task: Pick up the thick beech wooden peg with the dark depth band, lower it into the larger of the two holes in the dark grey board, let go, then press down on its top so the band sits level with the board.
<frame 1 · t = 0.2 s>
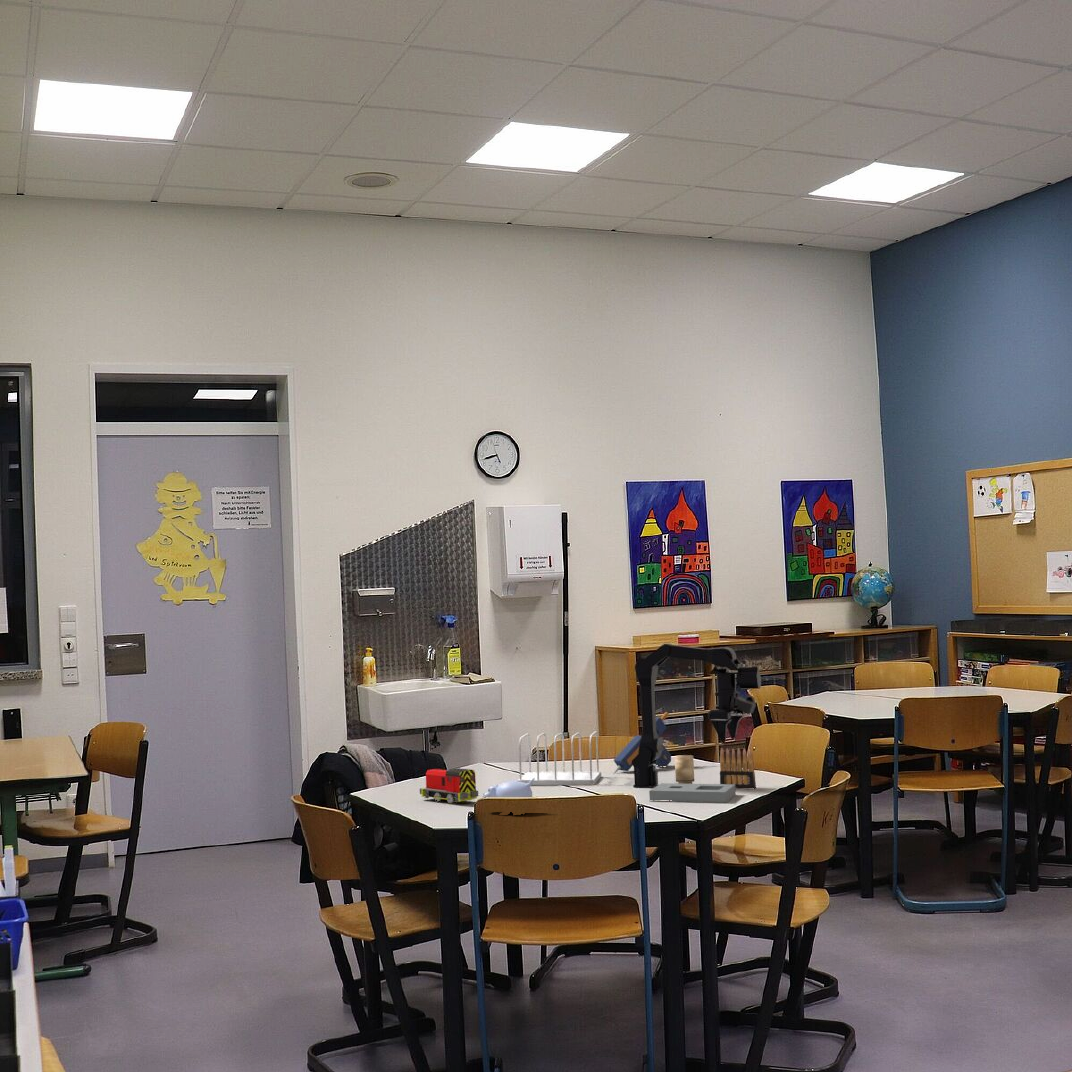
hand: (728, 740, 356), 14 cm above the table, tool pointing down, fingers open, 9 cm apart
ammunition clip: (738, 788, 354), on the table
file sorter: (560, 782, 383), on the table
glue gun: (642, 770, 401), on the table
hippopotamus toy: (509, 813, 327), on the table
two-hole board: (693, 797, 339), on the table
beech peg: (685, 789, 355), on the table
toy train: (448, 802, 351), on the table
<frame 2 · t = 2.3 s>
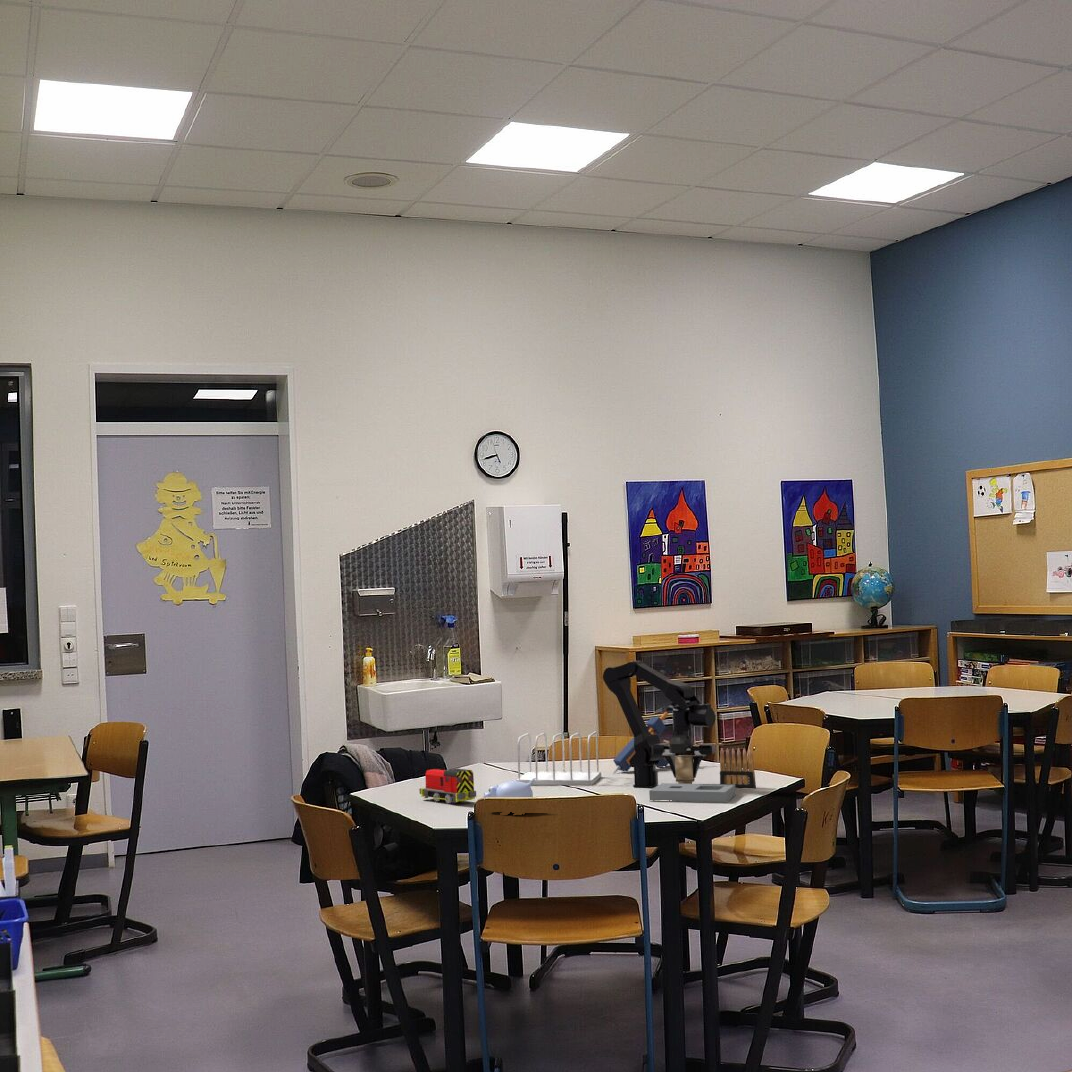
hand: (684, 777, 355), 4 cm above the table, tool pointing down, fingers closed on beech peg, 6 cm apart
beech peg: (685, 789, 355), on the table, touching gripper
everything else where it was.
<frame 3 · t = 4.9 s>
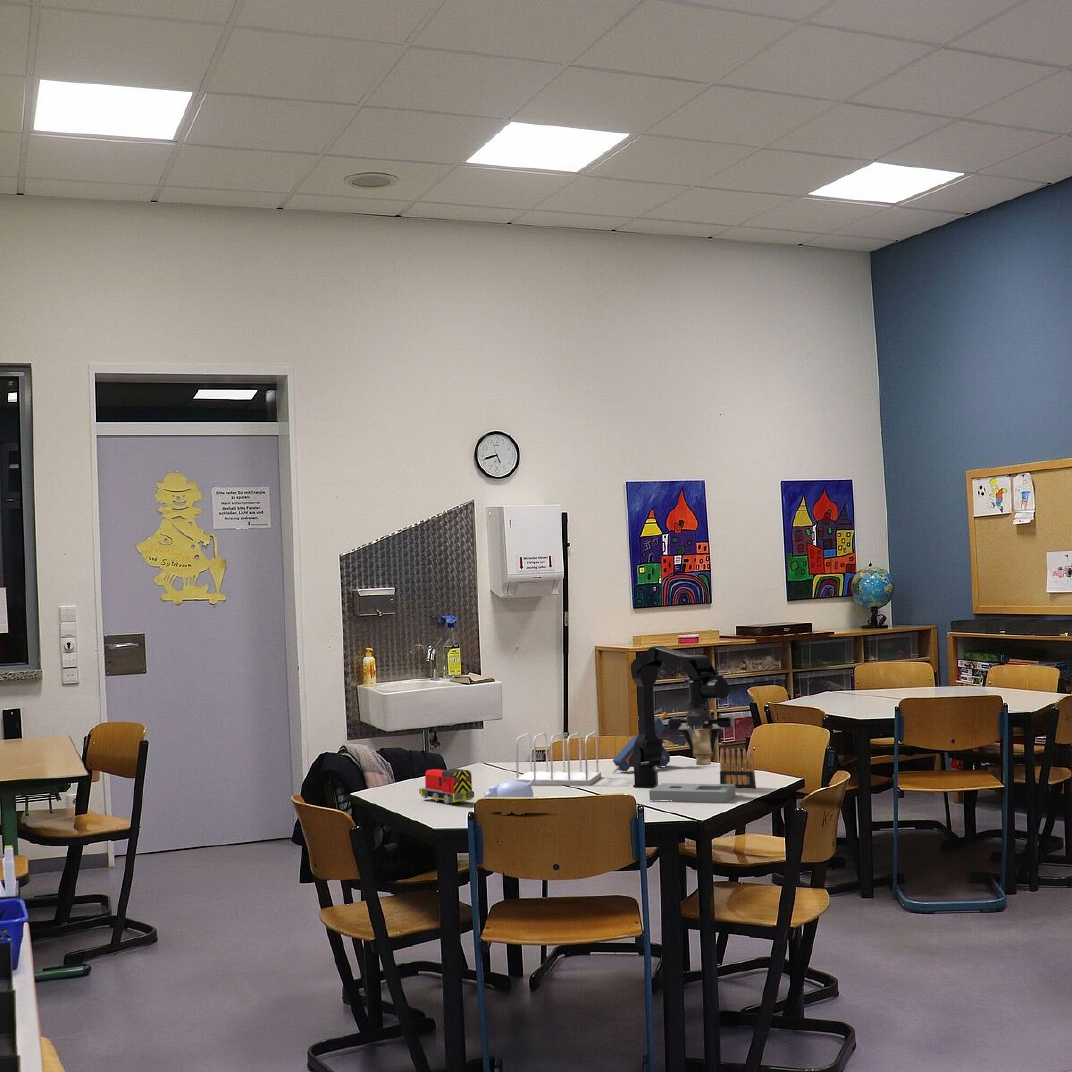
hand: (702, 752, 342), 13 cm above the table, tool pointing down, fingers closed on beech peg, 6 cm apart
beech peg: (703, 764, 342), point 9 cm above the table, touching gripper
everything else where it was.
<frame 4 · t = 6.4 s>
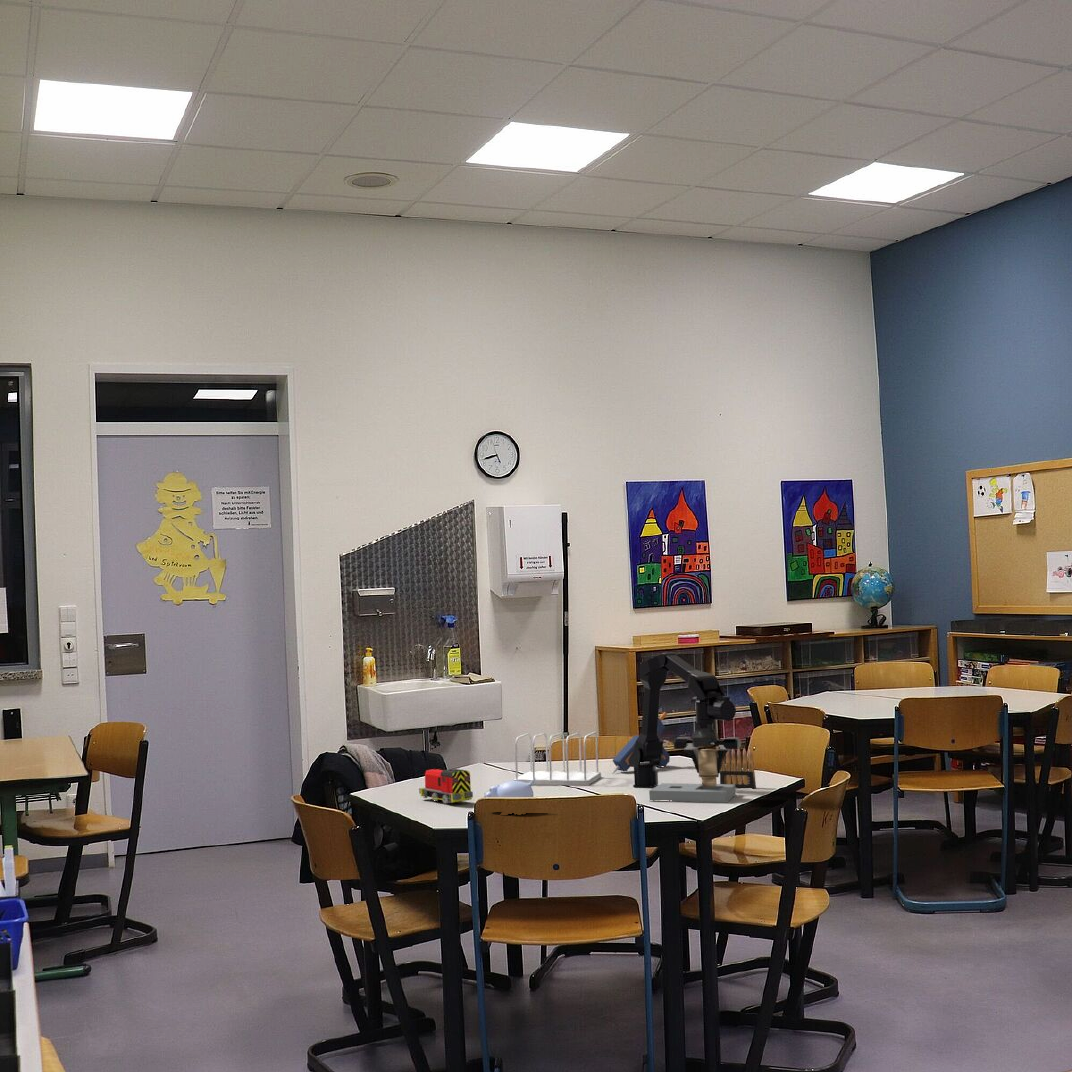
hand: (708, 773, 338), 7 cm above the table, tool pointing down, fingers closed on beech peg, 6 cm apart
beech peg: (709, 785, 338), point 4 cm above the table, touching gripper
when the fingers open (4 cm above the table, at t = 7.5 s): beech peg drops 1 cm, on the table.
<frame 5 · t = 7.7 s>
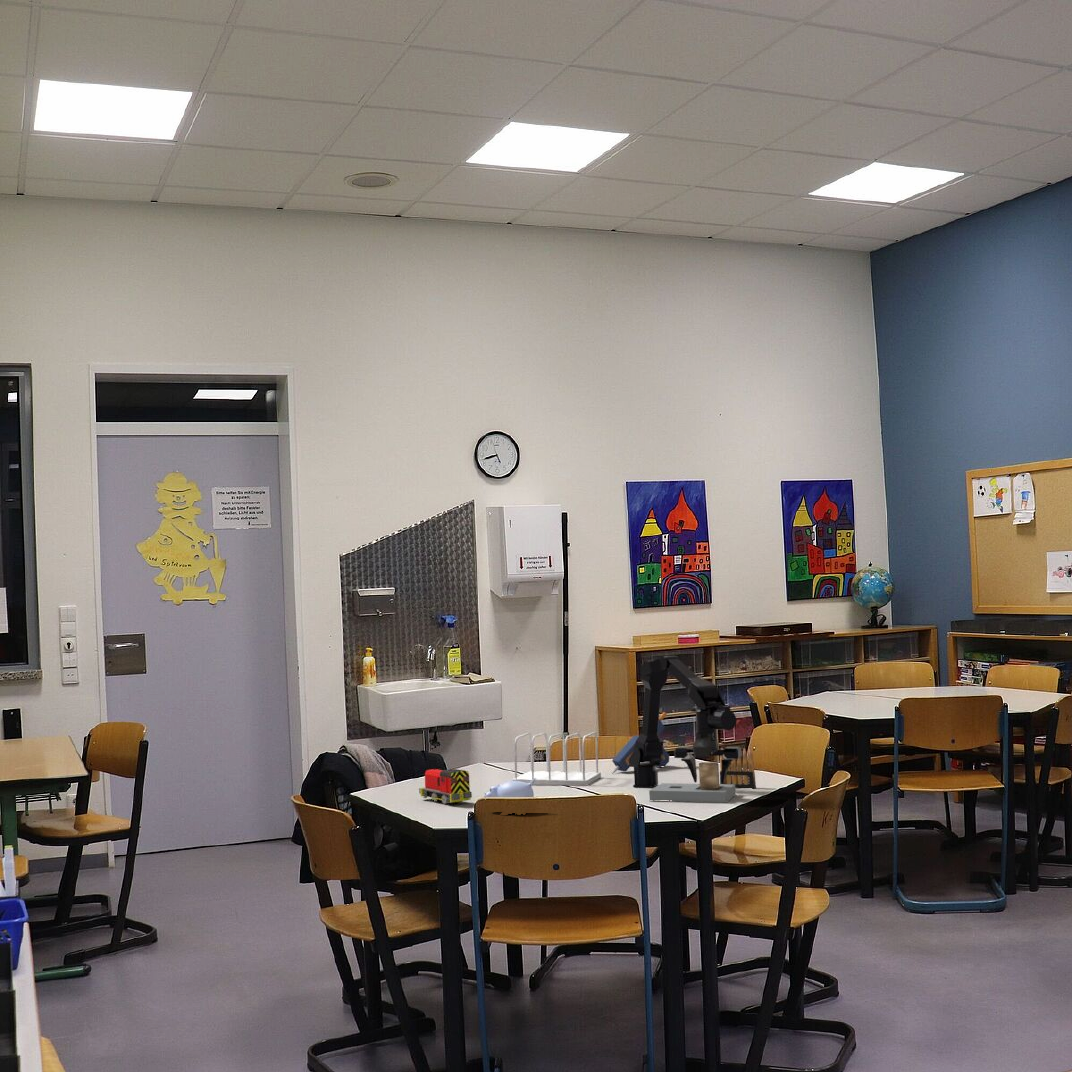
hand: (709, 782, 338), 4 cm above the table, tool pointing down, fingers open, 8 cm apart
beech peg: (710, 798, 337), on the table
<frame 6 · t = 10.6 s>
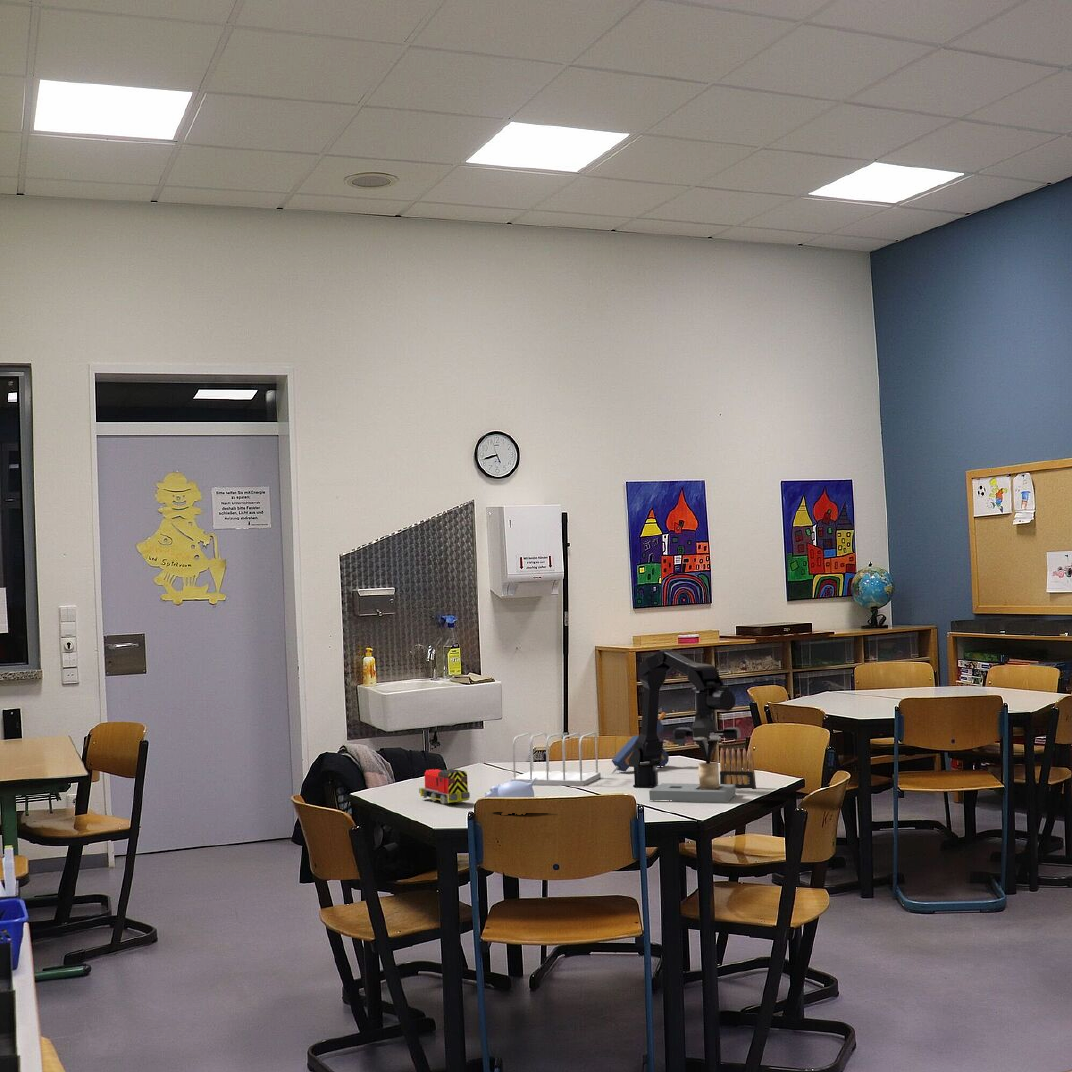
hand: (708, 763, 338), 10 cm above the table, tool pointing down, fingers closed, pressing on beech peg
beech peg: (710, 798, 337), on the table, touching gripper
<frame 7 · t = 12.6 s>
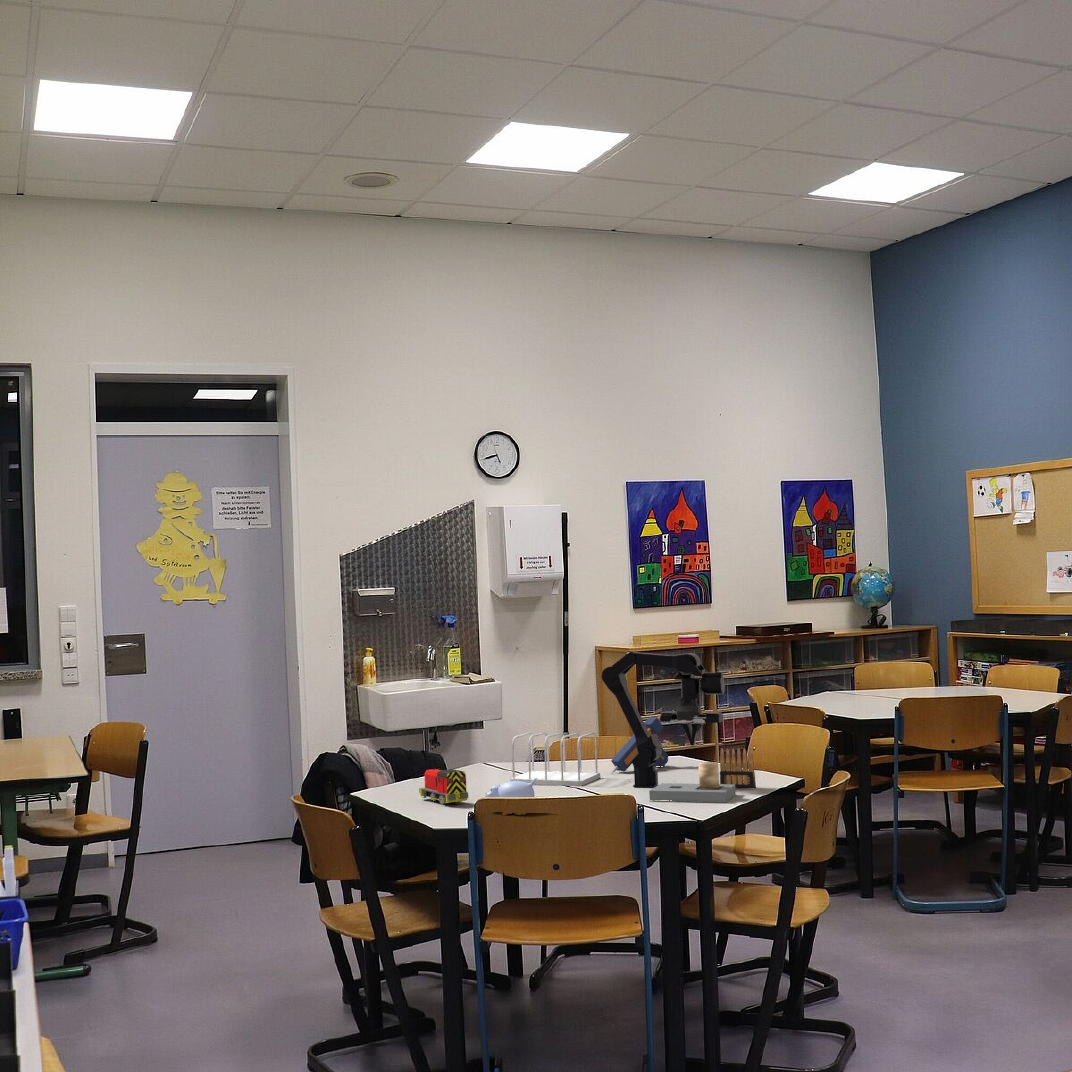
hand: (692, 745, 360), 13 cm above the table, tool pointing down, fingers closed
beech peg: (710, 798, 337), on the table
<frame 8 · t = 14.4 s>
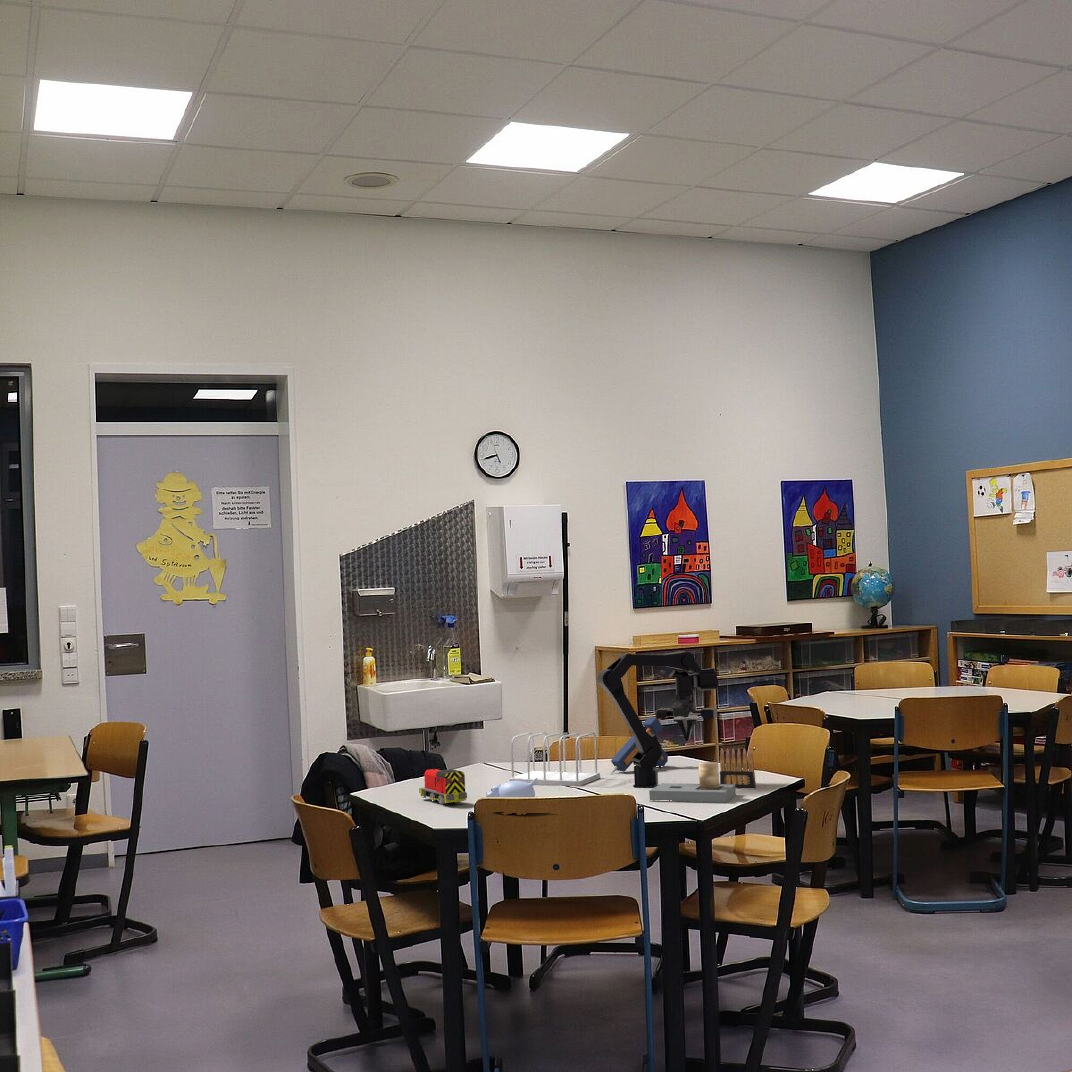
hand: (687, 741, 369), 13 cm above the table, tool pointing down, fingers closed
at the end: beech peg 0.1 cm from the target spot on the two-hole board, point 0.0 cm above the two-hole board's base; beech peg tilted 0°; the gripper is holding nothing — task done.
